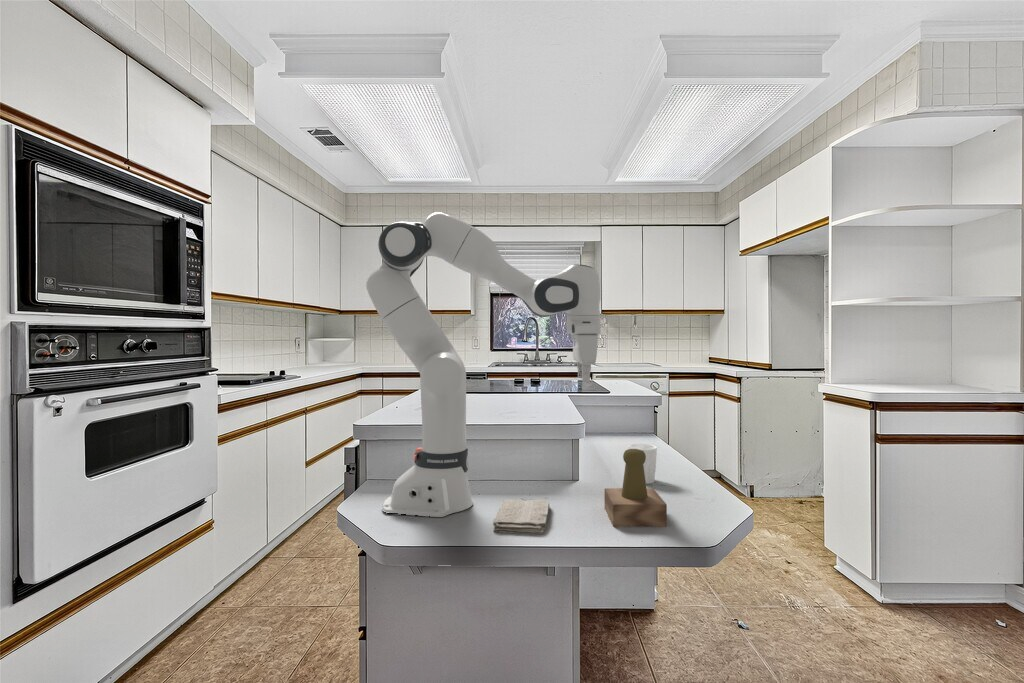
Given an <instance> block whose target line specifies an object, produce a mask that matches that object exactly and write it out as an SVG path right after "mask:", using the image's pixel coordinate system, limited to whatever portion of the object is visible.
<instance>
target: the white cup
mask: <svg viewBox="0 0 1024 683" xmlns="http://www.w3.org/2000/svg"><path fill="white" fill-rule="evenodd" d="M657 448H658V447H657V446H656V445H653V444H649V443H648V444H647V443H635V444H634V443H633V444H629V445H628V449H639V450H642V451H644V453H645V455H646V460H645V463H644V464H643V465H644V473H645V481H646V485H649V484H653V483H655V477H656V469H657V465H656V464H657V453H658V452H657V451H658V450H657Z"/></svg>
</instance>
